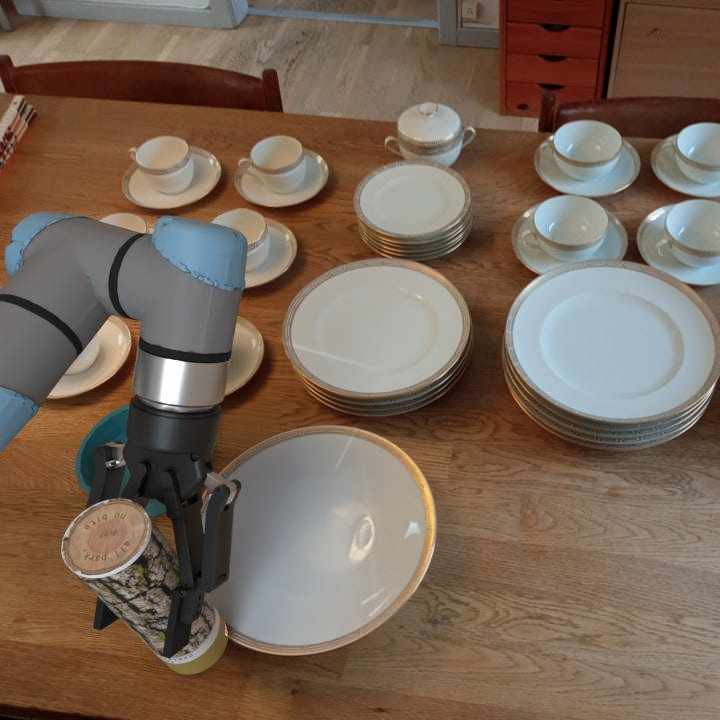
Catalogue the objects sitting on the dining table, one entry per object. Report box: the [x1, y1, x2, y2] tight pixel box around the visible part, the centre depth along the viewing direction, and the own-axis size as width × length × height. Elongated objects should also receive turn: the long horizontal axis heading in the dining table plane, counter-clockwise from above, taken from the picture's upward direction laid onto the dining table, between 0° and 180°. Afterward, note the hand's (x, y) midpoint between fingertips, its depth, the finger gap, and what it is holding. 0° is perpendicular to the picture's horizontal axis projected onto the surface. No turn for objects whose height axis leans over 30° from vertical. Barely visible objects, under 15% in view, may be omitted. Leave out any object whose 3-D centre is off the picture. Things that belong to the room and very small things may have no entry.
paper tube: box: [60, 499, 229, 676], centre depth 69 cm, size 7×7×25 cm
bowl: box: [74, 403, 167, 518], centre depth 90 cm, size 14×14×4 cm
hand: (141, 635), depth 67 cm, fingers closed on paper tube, 7 cm apart
